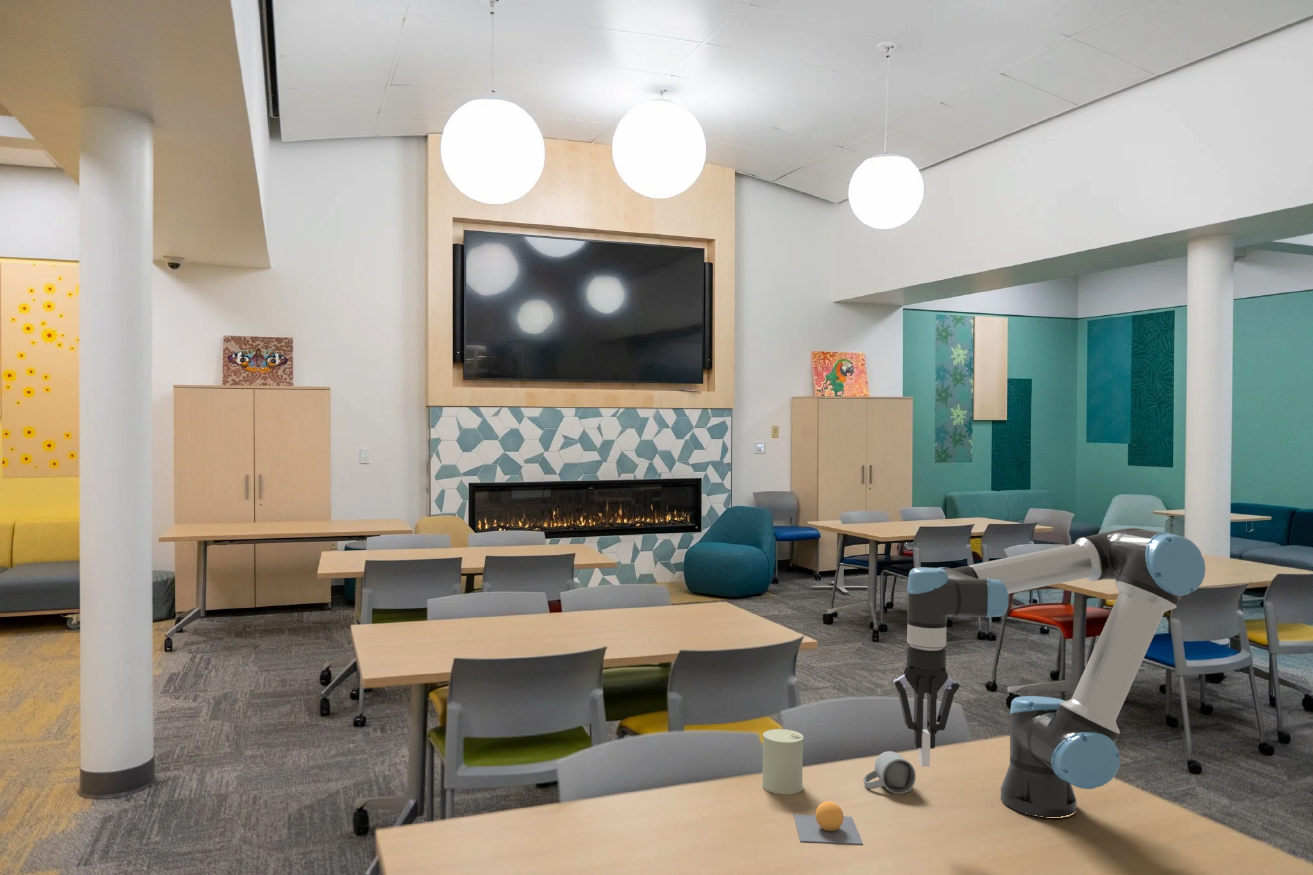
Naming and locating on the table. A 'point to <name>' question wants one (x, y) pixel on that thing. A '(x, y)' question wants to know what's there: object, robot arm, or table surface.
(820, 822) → the ball
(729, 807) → the table surface
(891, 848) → the table surface
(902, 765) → the ceramic mug
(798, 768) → the can
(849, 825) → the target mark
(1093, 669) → the robot arm
